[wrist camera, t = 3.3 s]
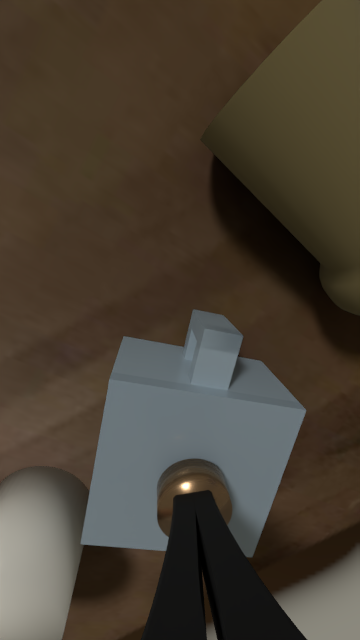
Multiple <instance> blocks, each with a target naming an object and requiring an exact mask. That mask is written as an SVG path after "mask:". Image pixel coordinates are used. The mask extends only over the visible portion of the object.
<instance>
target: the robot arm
mask: <svg viewBox="0 0 360 640" xmlns="http://www.w3.org/2000/svg"><path fill="white" fill-rule="evenodd" d="M201 566H202V567H201ZM202 572H203V576H204V581H205V585H206V590H207V594H208V599H209V603H210V608H211V612H212V617H213V621H214V626H215V630H216V635H217V639H218V640H307V639H306V638H305V637H304V636H303V634H302V633H301V632H300V631H299V630H298V629H297V627H296V626H295V625H294V623H293V622H292V621H291V619H290V618H289V617H288V616H287V614H286V613H285V612H284V610H283V609H282V608H281V607H280V605H279V604H278V603H277V601H276V600H275V599H274V597H273V596H272V594H271V593H270V592H269V590H268V589H267V588H266V586H265V585H264V583H263V582H262V581H261V579H260V578H259V576H258V575H257V573H256V572H255V570H254V569H253V567H252V566H251V564H250V563H249V561H248V560H247V558H246V556H245V555H244V553H243V552H242V550H241V548H240V547H239V545H238V543H237V542H236V540H235V538H234V536H233V535H232V533H231V531H230V530H229V528H228V526H227V524H226V522H225V520H224V518H223V516H222V515H221V513H220V510H219V508H218V506H217V504H216V502H215V499H214V497H213V494H212V492H211V491H210V490H205V491H199V492H192V493H186V494H180V495H175V497H174V498H173V512H172V521H171V527H170V534H169V539H168V544H167V549H166V554H165V558H164V563H163V567H162V571H161V574H160V578H159V582H158V586H157V590H156V593H155V597H154V600H153V604H152V607H151V610H150V614H149V617H148V620H147V623H146V626H145V629H144V632H143V635H142V638H141V640H207V637H206V623H205V609H204V594H203V580H202Z"/></svg>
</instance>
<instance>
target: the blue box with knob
mask: <svg viewBox="0 0 360 640" xmlns="http://www.w3.org/2000/svg"><path fill="white" fill-rule="evenodd" d="M242 339H243V335H242V334H241V333H240V332H239V331H238V330H237V329H236V328H235V327H234V326H233V325H232V324H231V323H230V322H229V321H228V320H227V319H226V318H225V317H224V316H223V315H219V314H214V313H209V312H204V311H199V310H194V309H193V312H192V316H191V320H190V325H189V329H188V333H187V337H186V341H185V346H184V347H181V346H175V345H170V344H164V343H159V342H153V341H148V340H142V339H136V338H131V337H125V336H124V337H123V340H122V343H121V346H120V349H119V352H118V355H117V358H116V361H115V364H114V367H113V370H112V374H111V377H110V380H109V386H108V391H107V397H106V403H105V408H104V414H103V420H102V425H101V431H100V436H99V442H98V448H97V453H96V459H95V465H94V470H93V476H92V482H91V487H90V493H89V498H88V504H87V510H86V515H85V521H84V527H83V532H82V538H81V544H83V545H96V546H109V547H122V548H135V549H148V550H161V551H166V549H167V544H168V539H169V537H168V536H166V535H165V534H164V533H163V532H162V530H161V529H160V527H159V525H158V521H157V483H158V480H159V478H160V476H161V475H162V473H163V472H164V471H165V470H166V469H167V468H168V467H169V466H171V465H172V464H174V463H176V462H179V461H181V460H185V459H194V458H195V459H203V460H206V461H209V462H211V463H213V464H214V465H216V466H217V467H218V468H219V469H220V471H221V472H222V474H223V476H224V480H225V483H226V486H227V490H228V493H229V496H230V500H231V503H232V516H231V519H230V522H229V523H228V525H227V526H228V528H229V530H230V531H231V533H232V535H233V536H234V538H235V540H236V542H237V543H238V545H239V547H240V548H241V550H242V552H243V553H244V555H245V556H246V557H253V554H254V552H255V549H256V546H257V543H258V541H259V538H260V535H261V533H262V530H263V527H264V524H265V522H266V519H267V516H268V513H269V511H270V508H271V505H272V502H273V500H274V497H275V494H276V492H277V489H278V486H279V483H280V481H281V478H282V475H283V472H284V470H285V467H286V464H287V462H288V459H289V456H290V453H291V451H292V448H293V445H294V442H295V440H296V437H297V434H298V431H299V429H300V426H301V423H302V421H303V418H304V415H305V412H306V409H305V408H304V407H303V406H302V405H301V404H300V403H299V402H298V401H297V400H296V398H295V397H294V396H293V395H292V394H291V393H290V392H289V391H288V390H287V389H286V388H285V386H284V385H283V384H282V383H281V382H280V381H279V380H278V379H277V378H276V377H275V376H274V374H273V373H272V372H271V371H270V370H269V369H268V368H267V367H266V366H265V365H264V364H263V362H262V361H258V360H253V359H247V358H242V357H237V356H238V353H239V349H240V346H241V342H242Z"/></svg>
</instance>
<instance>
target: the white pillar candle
mask: <svg viewBox="0 0 360 640" xmlns="http://www.w3.org/2000/svg"><path fill="white" fill-rule="evenodd" d="M88 498H89V491H88V489H87V487H86V486H85V485H84V484H83V482H82V481H80V480H79V479H78V478H77V477H76V476H74V475H73V474H71V473H69V472H67V471H64V470H62V469H58V468H55V467H49V466H34V467H28V468H24V469H21V470H18V471H16V472H14V473H12V474H10V475H9V476H7V477H6V478H5V479H4V480H3V481H2V482H1V483H0V640H62V636H63V633H64V628H65V624H66V620H67V615H68V611H69V607H70V603H71V598H72V594H73V590H74V585H75V581H76V577H77V572H78V568H79V564H80V559H81V555H82V551H83V546H84V545H83V544H81V538H82V532H83V527H84V521H85V515H86V510H87V504H88Z"/></svg>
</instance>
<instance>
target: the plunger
mask: <svg viewBox="0 0 360 640" xmlns="http://www.w3.org/2000/svg"><path fill="white" fill-rule="evenodd" d="M205 490H210V491H211V492H212V494H213V497H214V499H215V502H216V504H217V506H218V508H219V510H220V513H221V515H222V516H223V518H224V520H225V522H226V524H227V525H228V523H229V522H230V519H231V516H232V503H231V500H230V496H229V493H228V490H227V486H226V483H225V480H224V476H223V474H222V472H221V471H220V469H219V468H218V467H217V466H216V465H214V464H213V463H211V462H209V461H206V460H203V459H195V458H194V459H185V460H181V461H179V462H176V463H174V464H172V465H171V466H169V467H168V468H167V469H166V470H165V471H164V472H163V473H162V475H161V476H160V478H159V480H158V483H157V521H158V525H159V527H160V529H161V530H162V532H163V533H164V534H165V535H166V536H168V537H169V534H170V527H171V521H172V512H173V498H174V497H175V495H180V494H186V493H192V492H199V491H205Z"/></svg>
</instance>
